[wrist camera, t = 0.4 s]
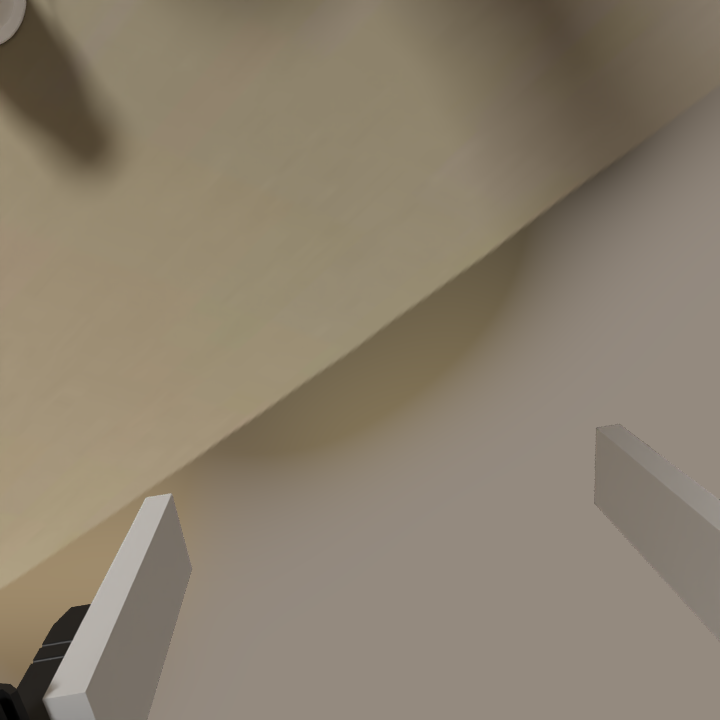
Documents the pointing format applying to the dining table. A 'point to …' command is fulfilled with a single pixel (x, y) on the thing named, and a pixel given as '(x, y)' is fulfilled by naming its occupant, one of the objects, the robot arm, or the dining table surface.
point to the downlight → (10, 17)
